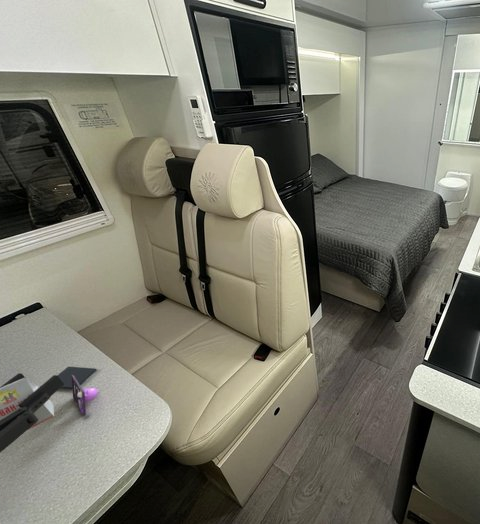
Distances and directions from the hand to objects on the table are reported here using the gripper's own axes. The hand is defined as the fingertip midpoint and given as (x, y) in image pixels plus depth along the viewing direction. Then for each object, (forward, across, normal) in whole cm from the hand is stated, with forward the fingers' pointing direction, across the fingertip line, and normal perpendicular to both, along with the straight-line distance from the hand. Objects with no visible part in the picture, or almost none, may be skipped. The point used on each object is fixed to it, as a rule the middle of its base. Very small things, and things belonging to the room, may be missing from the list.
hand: (41, 378), depth 57 cm
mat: (+13, -17, -18) cm, 28 cm away
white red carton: (-5, 0, -6) cm, 8 cm away
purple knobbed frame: (+7, -6, -18) cm, 20 cm away
